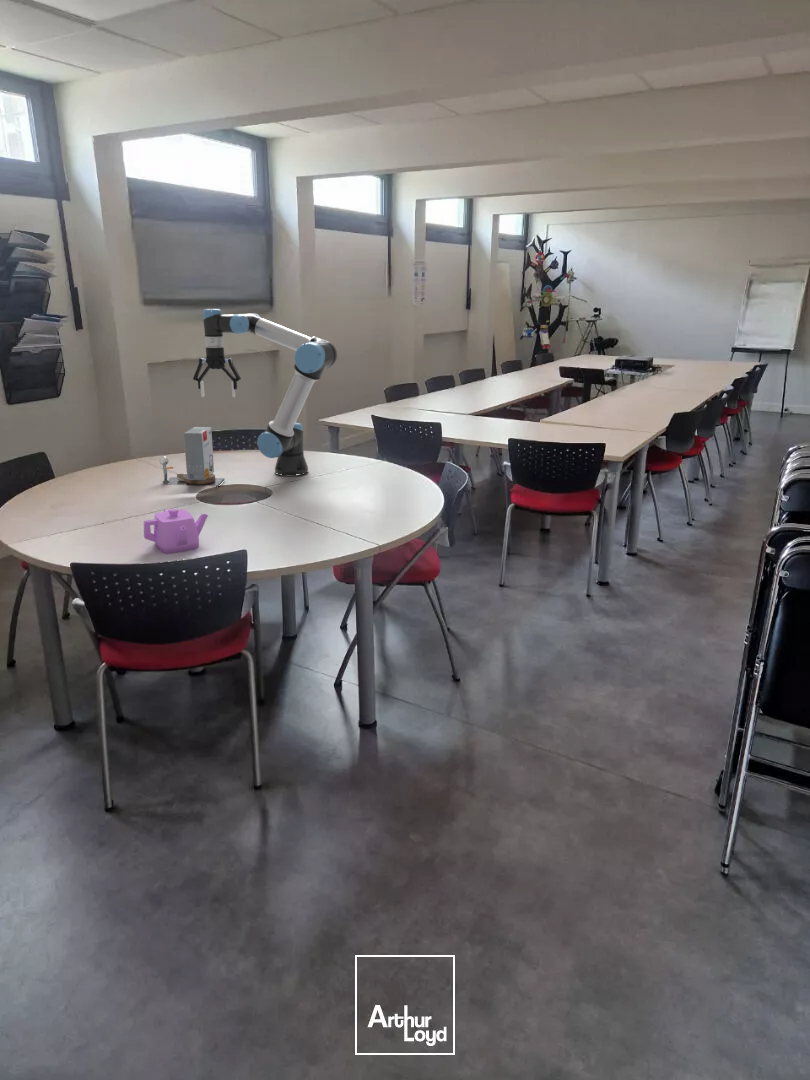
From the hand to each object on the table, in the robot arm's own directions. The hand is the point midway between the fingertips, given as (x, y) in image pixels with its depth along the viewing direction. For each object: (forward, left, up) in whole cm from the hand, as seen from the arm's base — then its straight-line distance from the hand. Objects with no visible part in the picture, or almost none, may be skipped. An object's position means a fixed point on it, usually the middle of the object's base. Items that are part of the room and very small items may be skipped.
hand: (218, 396), depth 309 cm
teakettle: (-9, +94, -35) cm, 101 cm away
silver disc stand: (+20, +21, -33) cm, 44 cm away
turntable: (+7, +19, -33) cm, 39 cm away
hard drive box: (+5, +19, -31) cm, 37 cm away
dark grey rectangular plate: (+8, +19, -35) cm, 41 cm away
